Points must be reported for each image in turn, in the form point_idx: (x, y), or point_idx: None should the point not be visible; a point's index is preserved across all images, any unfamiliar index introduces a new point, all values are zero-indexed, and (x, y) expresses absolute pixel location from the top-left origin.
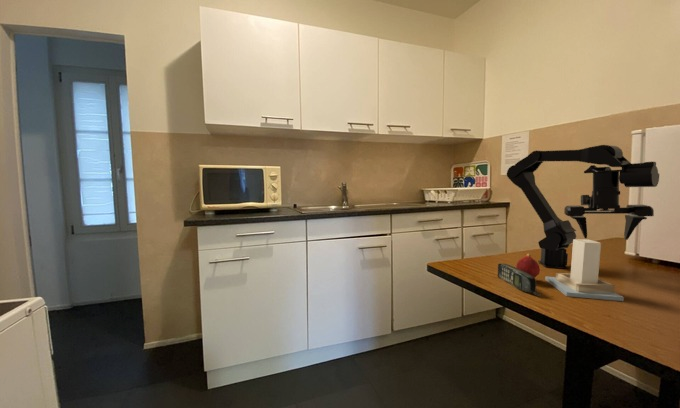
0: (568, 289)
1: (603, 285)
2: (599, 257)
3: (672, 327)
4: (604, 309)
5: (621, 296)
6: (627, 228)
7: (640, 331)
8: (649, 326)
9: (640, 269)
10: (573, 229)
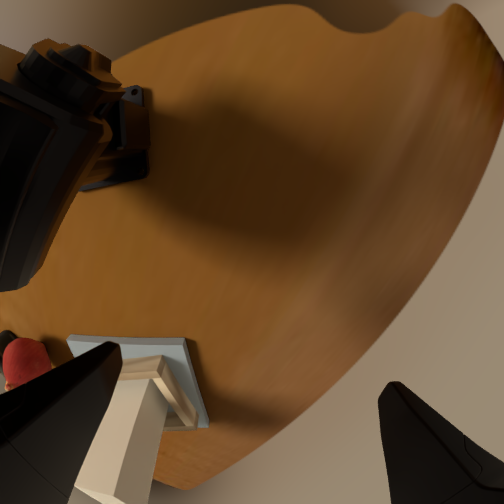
0: None
1: (172, 430)
2: (152, 475)
3: (232, 463)
4: (163, 443)
5: (206, 425)
6: (405, 476)
7: (186, 470)
8: (203, 465)
9: (447, 102)
10: (19, 153)
